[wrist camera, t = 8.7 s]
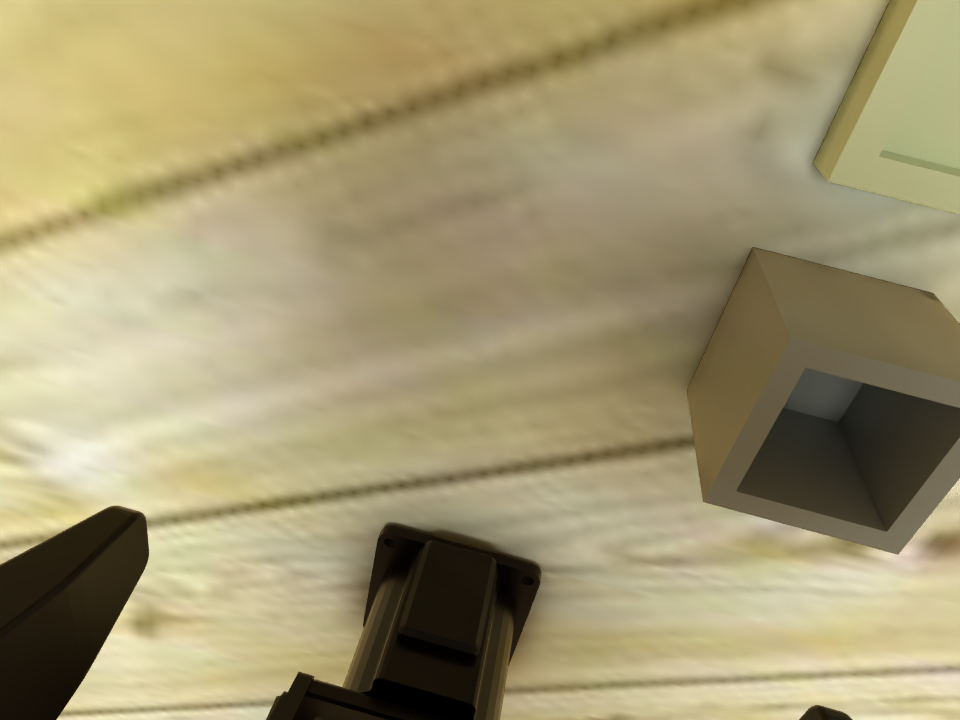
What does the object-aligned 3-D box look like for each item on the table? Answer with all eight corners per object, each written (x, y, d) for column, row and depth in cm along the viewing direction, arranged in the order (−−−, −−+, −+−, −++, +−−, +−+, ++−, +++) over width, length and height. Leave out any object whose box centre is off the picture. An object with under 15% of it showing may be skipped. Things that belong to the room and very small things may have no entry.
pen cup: (843, 432, 21) (898, 554, 17) (686, 391, 22) (703, 501, 17) (933, 293, 19) (1023, 398, 15) (752, 247, 19) (790, 337, 15)
